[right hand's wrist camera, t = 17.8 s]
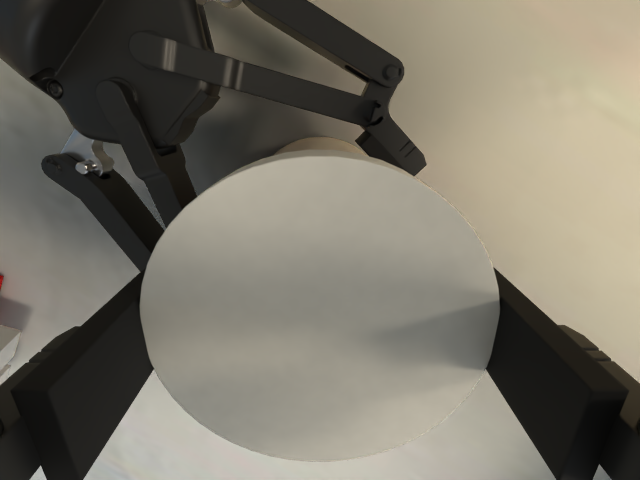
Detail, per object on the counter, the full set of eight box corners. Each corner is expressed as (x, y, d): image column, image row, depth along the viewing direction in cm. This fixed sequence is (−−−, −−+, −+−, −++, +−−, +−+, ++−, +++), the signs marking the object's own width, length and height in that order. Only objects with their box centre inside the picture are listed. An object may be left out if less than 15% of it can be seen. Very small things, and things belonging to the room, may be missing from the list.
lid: (399, 451, 15) (407, 490, 13) (138, 384, 13) (116, 418, 12) (540, 218, 11) (575, 235, 9) (199, 93, 10) (177, 90, 8)
